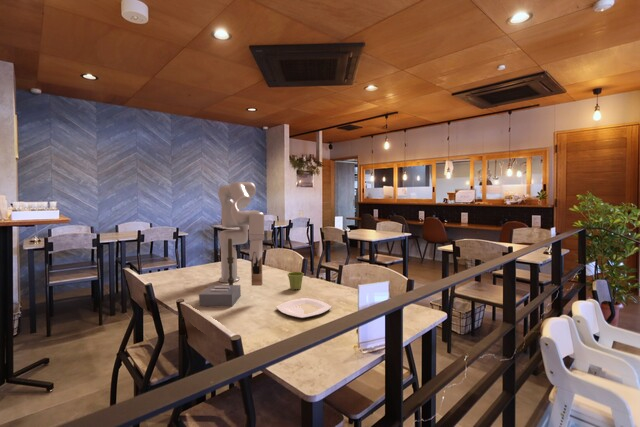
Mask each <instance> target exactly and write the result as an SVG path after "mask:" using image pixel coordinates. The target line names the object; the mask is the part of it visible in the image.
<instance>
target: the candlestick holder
mask: <svg viewBox="0 0 640 427" xmlns="http://www.w3.org/2000/svg"><path fill="white" fill-rule="evenodd" d="M232 246H233V245H232V239H228V258H227V260H228V261H227V262H228V264H229V275H230V276H229V279H228V282H229V283H228V285H234V283H235V282H234V278H233V277H232V263H233V259H234V257H232Z"/></svg>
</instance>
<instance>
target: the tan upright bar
mask: <svg viewBox="0 0 640 427" xmlns="http://www.w3.org/2000/svg"><path fill="white" fill-rule="evenodd" d="M256 260H257V259H256ZM256 262H257V261H256ZM250 265H251V275H250V276H251V286H253V287H254V286H262V285H263V256H262V257H261V258H260V260H259V266H260V273H259V274H253V259H252V260H251V261H250Z"/></svg>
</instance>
